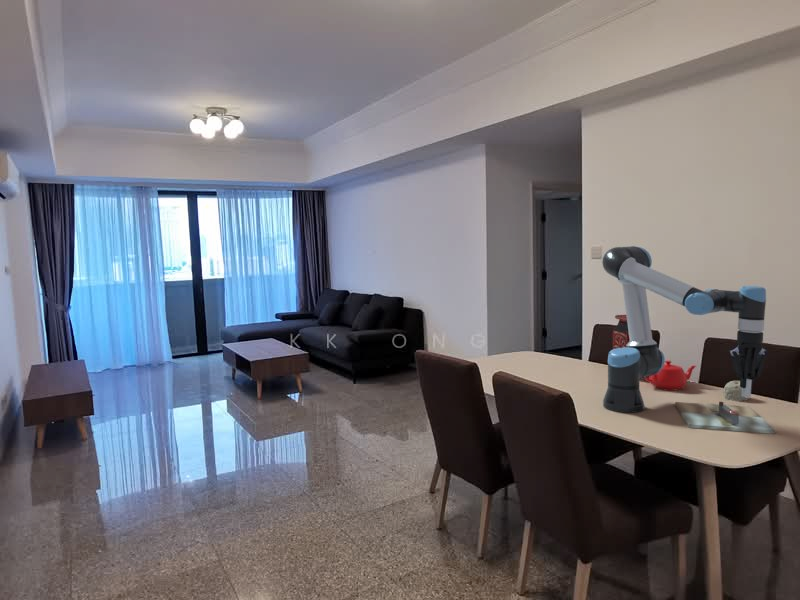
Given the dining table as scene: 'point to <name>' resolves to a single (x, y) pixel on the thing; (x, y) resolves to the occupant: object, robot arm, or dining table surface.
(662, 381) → the teapot
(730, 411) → the lever
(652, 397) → the dining table surface
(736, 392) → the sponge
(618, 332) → the vase
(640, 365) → the robot arm
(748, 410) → the lock board
